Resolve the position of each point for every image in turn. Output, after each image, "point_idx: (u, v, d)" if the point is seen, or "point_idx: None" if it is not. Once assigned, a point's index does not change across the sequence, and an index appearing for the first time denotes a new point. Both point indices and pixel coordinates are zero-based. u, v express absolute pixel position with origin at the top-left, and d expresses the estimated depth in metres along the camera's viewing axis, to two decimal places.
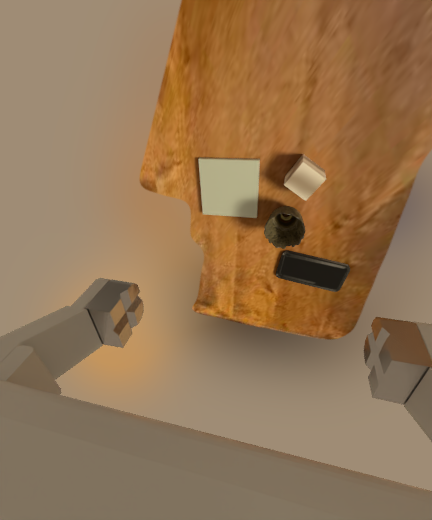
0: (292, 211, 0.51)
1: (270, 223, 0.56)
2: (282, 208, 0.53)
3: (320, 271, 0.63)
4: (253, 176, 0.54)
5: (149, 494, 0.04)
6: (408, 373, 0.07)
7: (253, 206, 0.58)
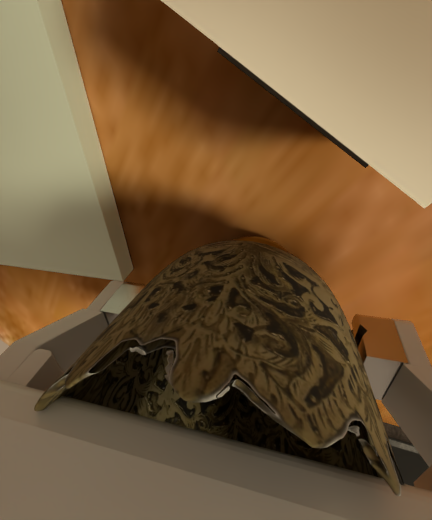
0: (273, 322, 0.05)
1: None
2: (197, 267, 0.07)
3: None
4: (21, 42, 0.08)
5: (149, 494, 0.04)
6: (383, 369, 0.07)
7: (92, 231, 0.12)
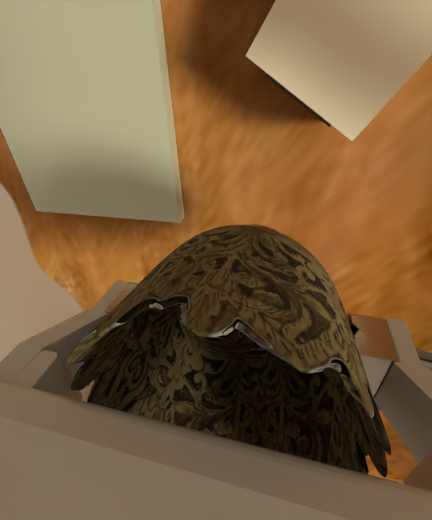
0: (270, 285, 0.06)
1: (170, 311, 0.11)
2: (204, 245, 0.07)
3: None
4: (142, 65, 0.14)
5: (149, 494, 0.04)
6: (375, 367, 0.07)
7: (163, 185, 0.18)
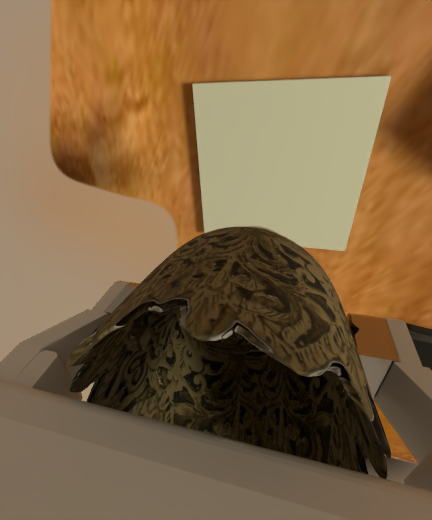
0: (270, 287, 0.06)
1: (169, 312, 0.11)
2: (204, 247, 0.07)
3: None
4: (359, 133, 0.18)
5: (149, 494, 0.04)
6: (375, 367, 0.07)
7: (341, 221, 0.22)
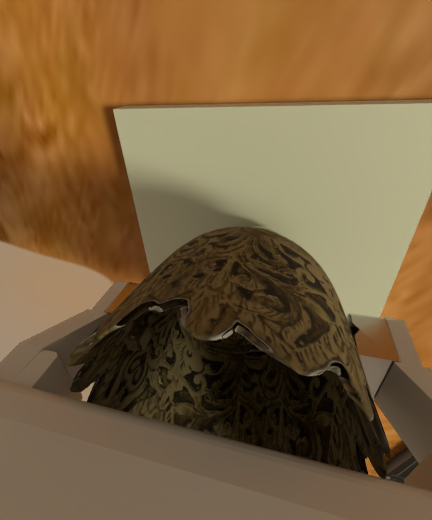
0: (269, 287, 0.06)
1: (169, 312, 0.11)
2: (204, 247, 0.07)
3: None
4: (397, 198, 0.10)
5: (149, 494, 0.04)
6: (375, 367, 0.07)
7: None
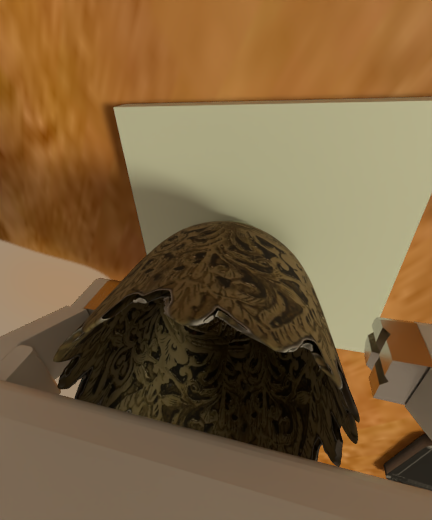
0: (246, 275, 0.06)
1: (153, 308, 0.11)
2: (184, 241, 0.08)
3: None
4: (399, 196, 0.10)
5: (149, 494, 0.04)
6: (409, 373, 0.07)
7: (361, 317, 0.14)
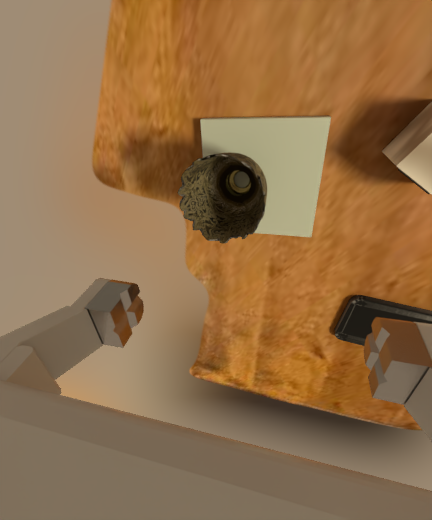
0: (237, 155, 0.22)
1: (204, 194, 0.27)
2: None
3: None
4: (314, 153, 0.26)
5: (149, 494, 0.04)
6: (408, 373, 0.07)
7: (307, 215, 0.30)
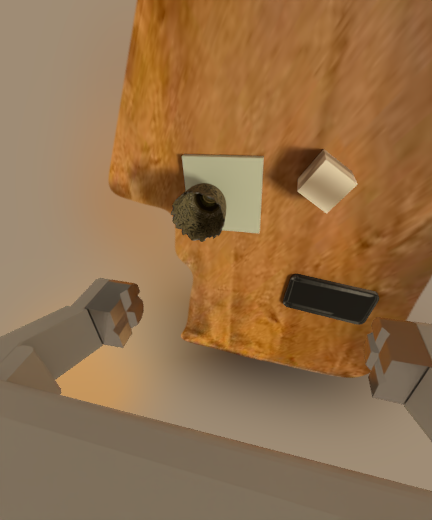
0: (205, 189, 0.37)
1: (187, 208, 0.42)
2: (194, 186, 0.38)
3: (340, 299, 0.50)
4: (255, 179, 0.41)
5: (149, 494, 0.04)
6: (408, 373, 0.07)
7: (254, 218, 0.44)
